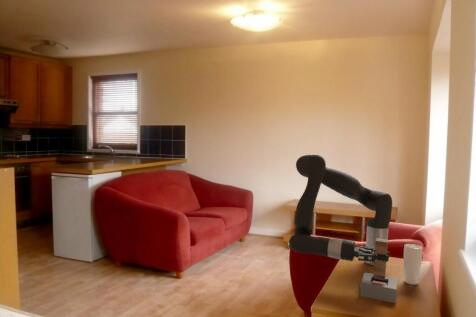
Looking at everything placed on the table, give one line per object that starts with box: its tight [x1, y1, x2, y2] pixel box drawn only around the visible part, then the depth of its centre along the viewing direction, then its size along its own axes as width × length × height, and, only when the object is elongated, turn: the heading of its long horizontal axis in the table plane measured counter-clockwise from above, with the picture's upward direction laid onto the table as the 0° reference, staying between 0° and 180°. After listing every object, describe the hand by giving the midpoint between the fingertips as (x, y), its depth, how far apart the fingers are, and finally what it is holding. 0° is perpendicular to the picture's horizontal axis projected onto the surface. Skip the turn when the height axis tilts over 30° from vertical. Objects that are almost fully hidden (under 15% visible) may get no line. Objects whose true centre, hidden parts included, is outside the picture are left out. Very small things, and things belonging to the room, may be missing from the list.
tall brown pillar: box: [372, 238, 389, 280], centre depth 143 cm, size 4×4×14 cm
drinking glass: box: [403, 243, 424, 286], centre depth 155 cm, size 7×7×15 cm
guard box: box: [359, 272, 398, 304], centre depth 143 cm, size 12×12×5 cm
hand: (388, 256), depth 141 cm, fingers closed on tall brown pillar, 4 cm apart
